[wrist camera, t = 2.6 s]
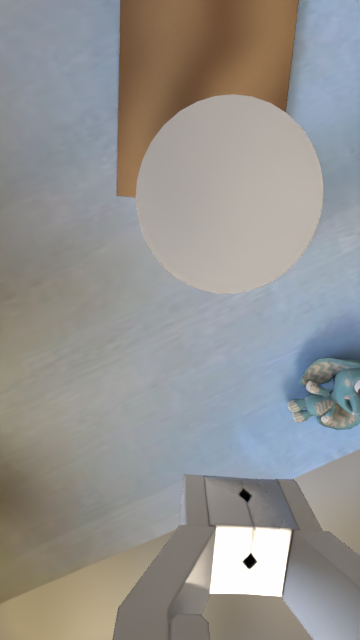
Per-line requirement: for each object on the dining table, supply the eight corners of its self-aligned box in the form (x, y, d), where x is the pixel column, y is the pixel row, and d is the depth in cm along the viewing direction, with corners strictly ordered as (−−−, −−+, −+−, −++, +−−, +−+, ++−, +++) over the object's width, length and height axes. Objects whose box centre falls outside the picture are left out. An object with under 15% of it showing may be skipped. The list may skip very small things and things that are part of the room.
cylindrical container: (157, 211, 36) (116, 115, 11) (218, 199, 35) (314, 75, 11) (169, 272, 37) (155, 308, 13) (228, 262, 37) (330, 276, 12)
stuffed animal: (278, 395, 35) (390, 355, 31) (270, 367, 41) (362, 332, 38) (315, 469, 37) (424, 438, 33) (301, 431, 43) (391, 402, 40)
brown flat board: (117, 195, 35) (116, 195, 35) (123, -129, 29) (122, -134, 29) (273, 206, 36) (274, 206, 35) (311, -111, 30) (312, -116, 29)
